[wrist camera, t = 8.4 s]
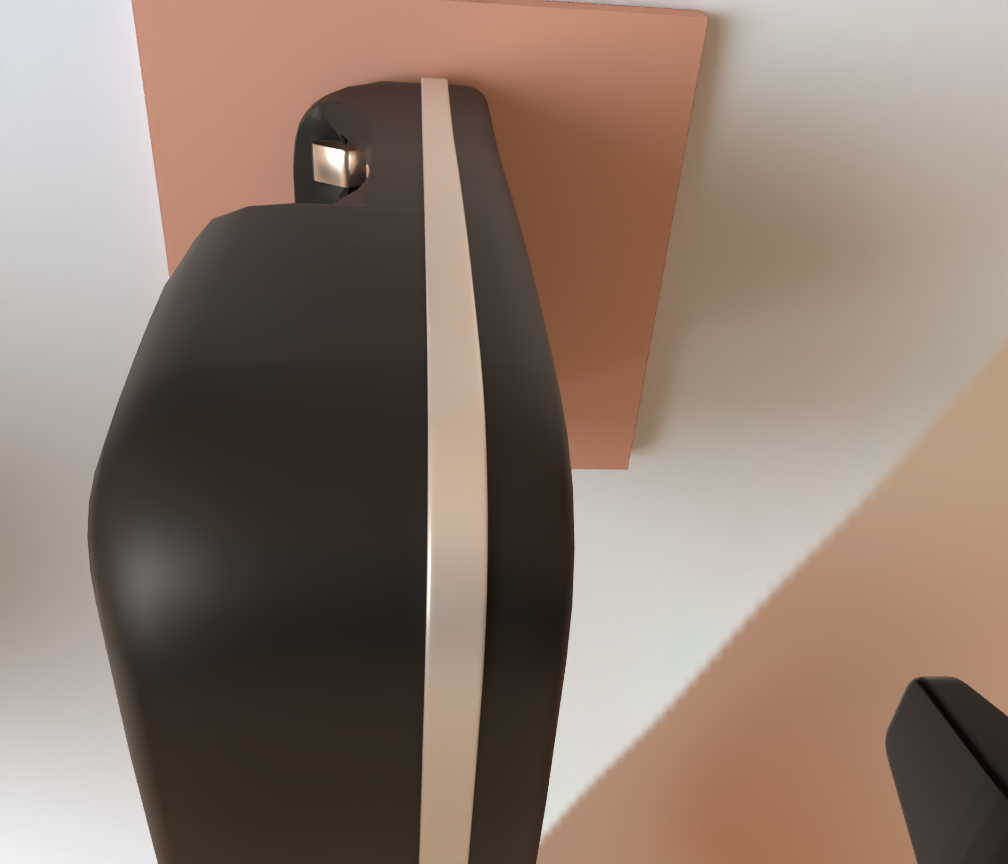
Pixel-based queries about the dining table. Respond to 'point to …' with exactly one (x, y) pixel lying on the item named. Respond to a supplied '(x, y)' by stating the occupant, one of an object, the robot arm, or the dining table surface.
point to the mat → (518, 132)
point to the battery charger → (345, 511)
